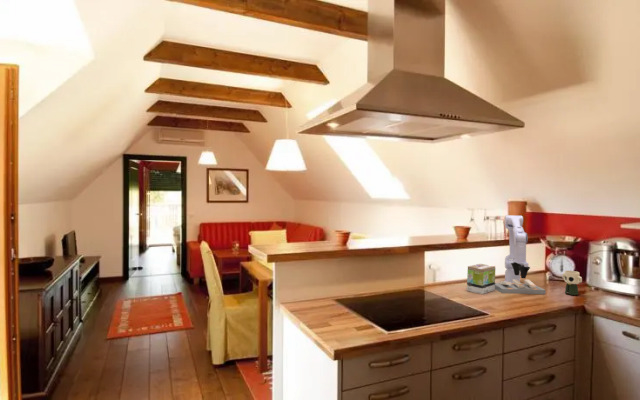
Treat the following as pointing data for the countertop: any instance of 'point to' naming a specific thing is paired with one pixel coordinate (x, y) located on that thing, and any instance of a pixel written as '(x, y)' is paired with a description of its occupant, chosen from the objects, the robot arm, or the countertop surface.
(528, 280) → the rocker
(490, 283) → the tea box
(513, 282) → the rocker
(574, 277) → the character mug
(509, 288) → the panel
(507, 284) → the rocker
